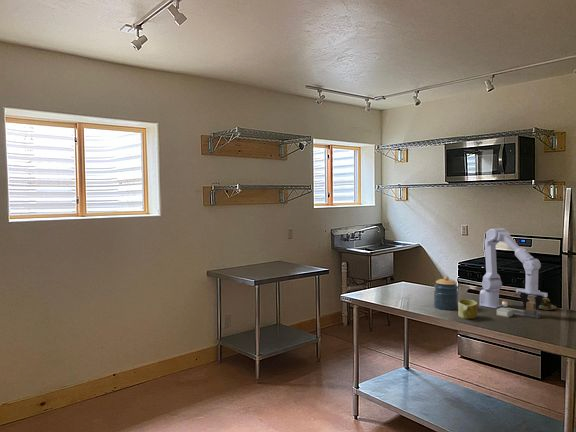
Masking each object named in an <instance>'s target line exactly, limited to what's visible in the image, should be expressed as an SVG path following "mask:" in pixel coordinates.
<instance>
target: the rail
mask: <svg viewBox="0 0 576 432" xmlns="http://www.w3.org/2000/svg"><path fill="white" fill-rule="evenodd" d="M500 308H507V309H513V315H514V314H515V315H520V316H524V310H525V309H517V308H513V307H512V308H511V307H509V305H508V306H500ZM541 317H542V311H538V312H536V313H535V317H534V318H535V319H539V318H541Z"/></svg>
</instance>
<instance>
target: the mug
mask: <svg viewBox="0 0 576 432" xmlns="http://www.w3.org/2000/svg"><path fill="white" fill-rule="evenodd" d="M478 308H479V304H478V302H477V301H476V300H473V299H467V298H466V299H465V298H464V299H460V300H459V299H458V309H457V310H458V313H457V314H458V317H459V318H461V319H463V318H464V319H463V320H469V319H471V320H472V319H473V320H474V319H476V318H477V315H478Z"/></svg>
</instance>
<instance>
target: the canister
mask: <svg viewBox="0 0 576 432" xmlns="http://www.w3.org/2000/svg"><path fill="white" fill-rule="evenodd" d="M457 284H458V282H457V281H456V280H455V279H451V278H449V276H448V275H445V276H444V277H443V278H439V279H437V280H435V284H434V285H433V287H434V291H433V293H434V294H433V295H434V296H433V297H434V298H433V300H434V301H433V306H434V308H436V309H438V310H443V311H444V310H447V311H454V310H458V301H459V294H460V293H459V292H458V290H459V288H460V287H459V286H458V285H457Z"/></svg>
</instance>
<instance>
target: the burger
mask: <svg viewBox="0 0 576 432" xmlns="http://www.w3.org/2000/svg"><path fill="white" fill-rule="evenodd" d="M539 309H540V310H548V311H551V310H553V311H554V312H556V311H557V310H558V307H557V306H556V305H553V304H552V303H551V300H550V299H549V298H548V297H543V299H542V301H541V303H540V305H539ZM539 309H538V310H539Z"/></svg>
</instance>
